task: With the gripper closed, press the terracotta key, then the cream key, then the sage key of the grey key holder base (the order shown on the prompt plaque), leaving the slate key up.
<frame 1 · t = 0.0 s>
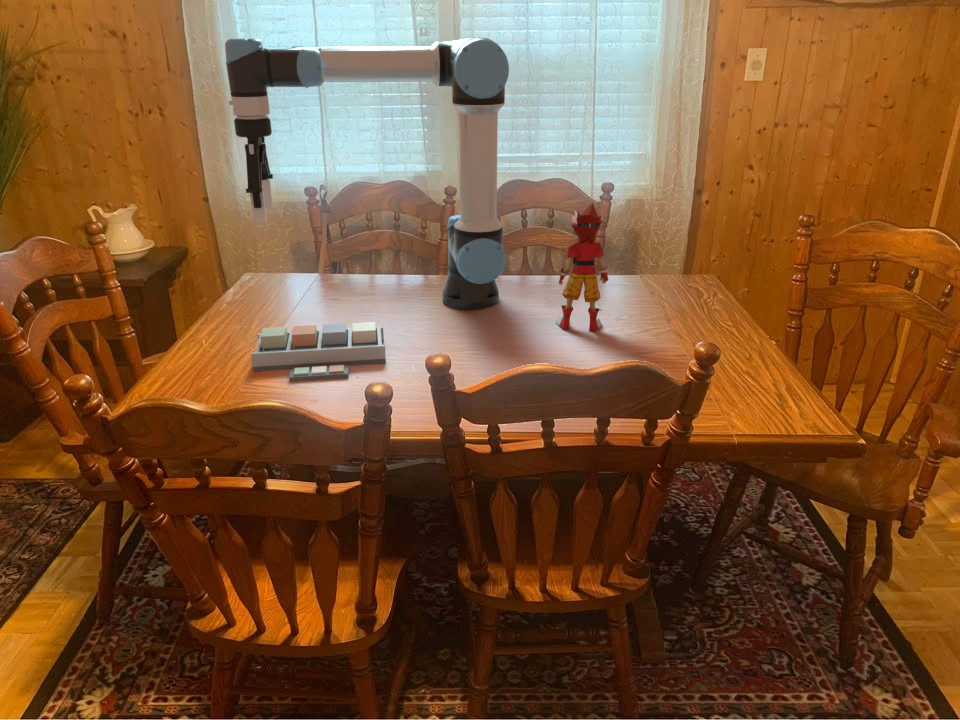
hand: (263, 215, 167), 28 cm above the table, fingers open, 13 cm apart
key terracotta: (304, 335, 161), point 5 cm above the table, slide at 0.0 cm
key sage: (274, 337, 160), point 5 cm above the table, slide at 0.0 cm
key slate: (334, 334, 162), point 5 cm above the table, slide at 0.0 cm
key cream: (364, 332, 163), point 5 cm above the table, slide at 0.0 cm
grey key holder base: (321, 356, 164), on the table
toy: (579, 326, 181), on the table
prompt plaque: (319, 375, 155), on the table
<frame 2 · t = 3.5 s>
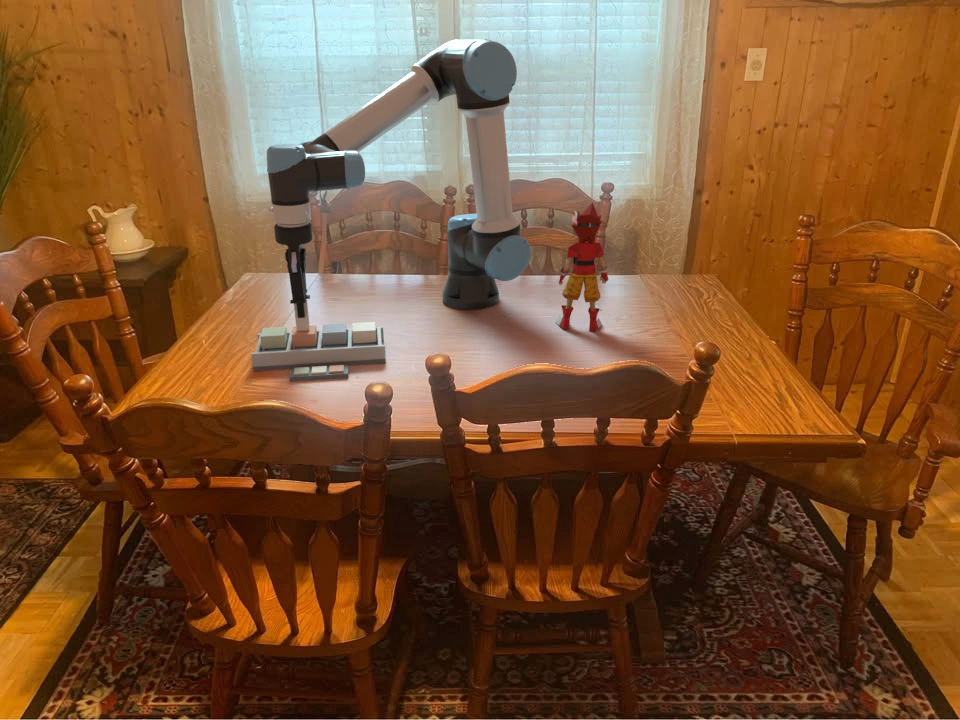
hand: (303, 329, 161), 7 cm above the table, fingers closed
key terracotta: (304, 336, 161), point 5 cm above the table, slide at 0.1 cm, touching gripper
everything else where it was.
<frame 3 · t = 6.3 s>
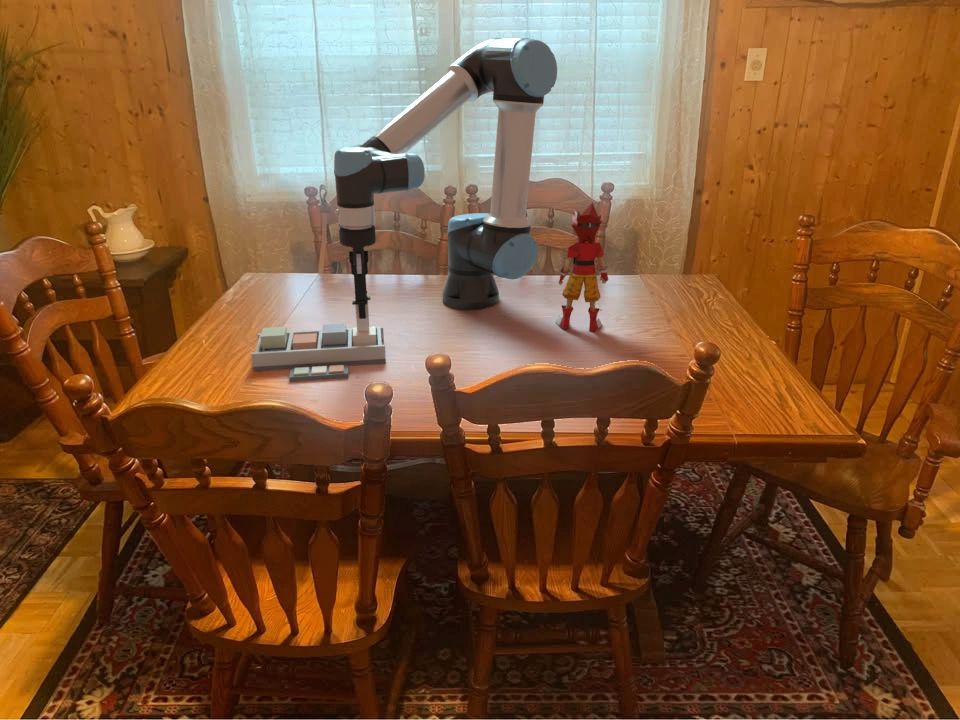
hand: (363, 330, 163), 6 cm above the table, fingers closed
key terracotta: (305, 344, 162), point 3 cm above the table, slide at 2.0 cm
key cream: (364, 336, 164), point 4 cm above the table, slide at 1.1 cm, touching gripper
everything else where it was.
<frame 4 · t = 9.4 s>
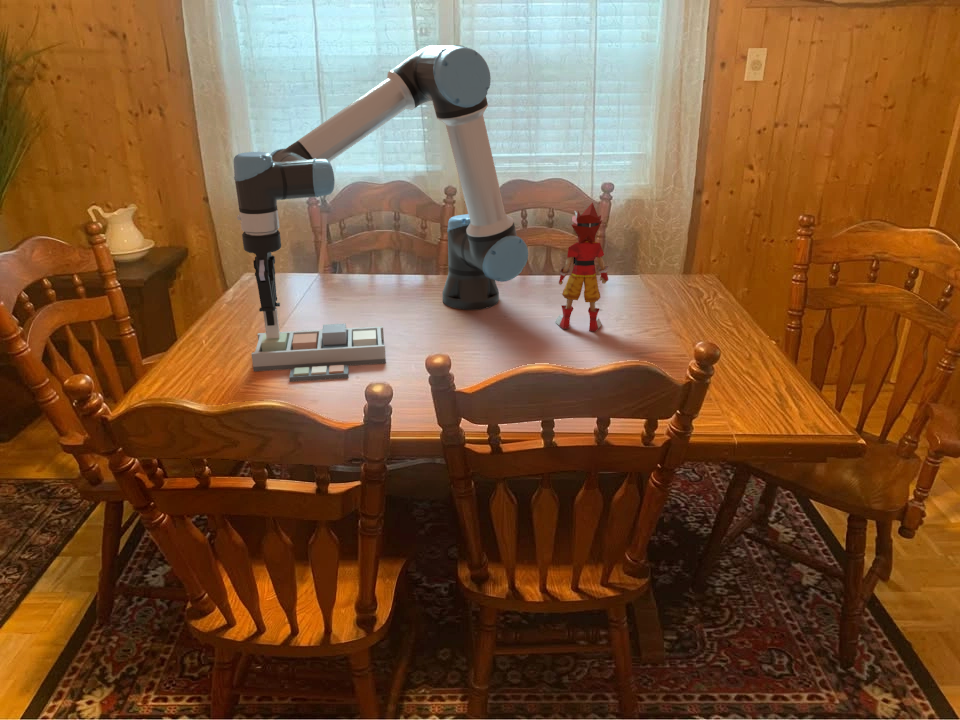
hand: (273, 336, 160), 5 cm above the table, fingers closed
key sage: (274, 343, 161), point 4 cm above the table, slide at 1.5 cm, touching gripper
key cream: (364, 340, 164), point 3 cm above the table, slide at 2.0 cm
everything else where it was.
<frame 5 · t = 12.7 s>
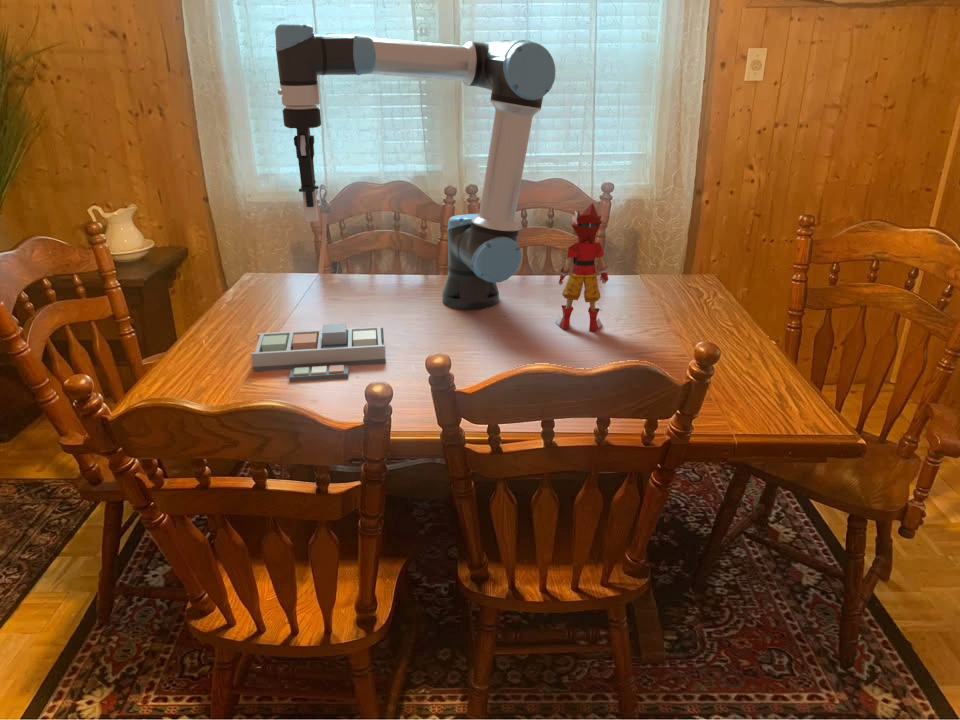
hand: (311, 220, 160), 28 cm above the table, fingers closed
key sage: (275, 345, 161), point 3 cm above the table, slide at 2.0 cm
everything else where it was.
at the end: key terracotta slide at 2.0 cm; key cream slide at 2.0 cm; key sage slide at 2.0 cm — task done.
